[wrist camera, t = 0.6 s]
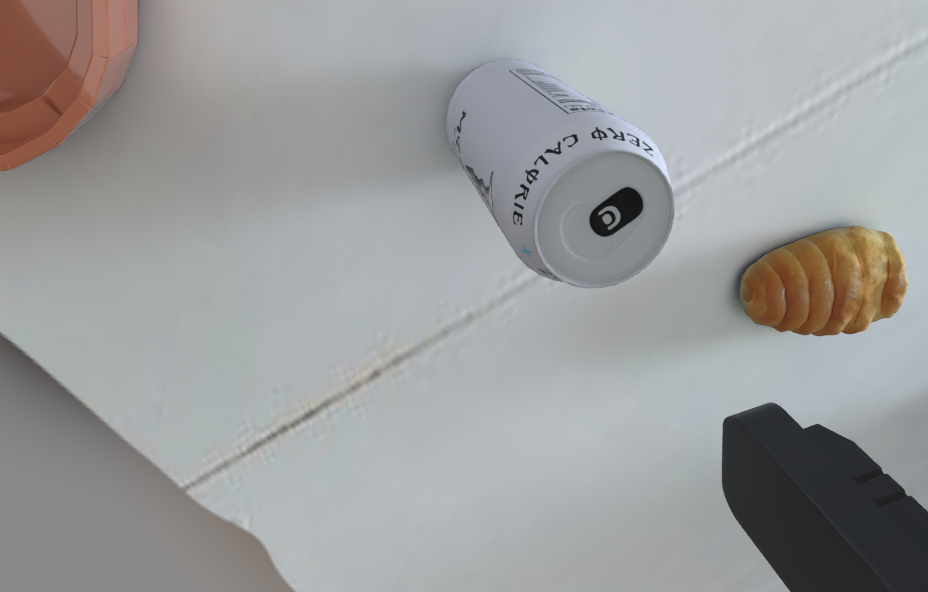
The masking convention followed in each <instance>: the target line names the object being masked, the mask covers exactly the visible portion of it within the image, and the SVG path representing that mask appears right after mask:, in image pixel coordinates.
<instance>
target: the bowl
mask: <svg viewBox="0 0 928 592" xmlns="http://www.w3.org/2000/svg"><path fill="white" fill-rule="evenodd" d="M137 40H138V0H0V171H4V170H11V169H13V168H16V167H18V166H20V165H22V164H24V163H26V162H28V161H30V160H32V159H34V158H36V157H38V156H40V155H41V154H43V153H45V152H47V151H49V150H51V149H53V148H55V147H57V146H58V145H60V144H61V143H62V142H63V141H65V140H66V139H67V138H68V137H69V136H71V135H72V134H73V133H74V132H76V131H77V130H78V129H79V128H80V127H82V126H83V125H84V124H85V123H87V122H88V121H89V120H90V119H91V118H93V117H94V116H95V115H96V114H97V112H98V111H99V110H100V109H101V108H102V107H103V106H104V105H105V103H106V102H107V101H108V100H109V99H110V98H111V97H112V95H113V94H114V93H115V92H116V91H117V90H118V89H119V88H120V86H121V84H122V83H123V80H124V78H125V75H126V72H127V70H128V67H129V64H130V61H131V59H132V56H133V53H134V50H135V48H136V45H137Z"/></svg>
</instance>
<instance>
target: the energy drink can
mask: <svg viewBox="0 0 928 592" xmlns="http://www.w3.org/2000/svg"><path fill="white" fill-rule="evenodd" d="M446 129H447V136H448V140H449V143H450V146H451V149H452V150H453V152H454V154H455V155H456V157H457V159H458V160H459V162H460V164H461V165H462V167H463V168H464V170H465V172H466V173H467V175H468V177H469V178H470V180H471V182H472V183H473V185H474V186H475V188H476V190H477V191H478V193H479V195H480V196H481V198H482V199H483V201H484V203H485V204H486V206H487V208H488V209H489V211H490V213H491V214H492V216H493V217H494V219H495V221H496V222H497V224H498V226H499V227H500V229H501V230H502V232H503V234H504V235H505V237H506V239H507V240H508V242H509V243H510V245H511V247H512V248H513V250H514V252H515V253H516V255H517V256H518V257H519V258H520V260H521V261H522V262H523V263H524V264H525V265H526V266H527V267H529V268H530V269H532V270H533V271H535V272H536V273H538V274H539V275H541V276H544V277H547V278H549V279H552V280H555V281H561V282H566V283H568V284H571V285H573V286H577V287H583V288H603V287H608V286H613V285H616V284H618V283H621V282H624V281H626V280H628V279H630V278H631V277H633V276H635V275H636V274H638V273H640V272H641V271H642V270H643V269H644V268H646V267H647V266H648V265H649V264H650V263H651V262H652V261H653V260H654V258H655V257H656V256H657V255H658V254H659V252H660V251H661V249H662V248H663V246H664V244H665V243H666V241H667V238H668V236H669V233H670V231H671V228H672V224H673V219H674V197H673V192H672V188H671V186H670V182H669V176H668V171H667V166H666V164H665V161H664V159H663V157H662V154H661V152H660V150H659V149H658V148H657V146H656V145H655V144H654V142H653V141H652V140H651V139H650V138H649V137H648V136H647V135H646V134H644V133H643V132H642V131H641V130H640V129H638V128H636V127H635V126H633V125H632V124H630V123H628V122H627V121H625V120H623V119H622V118H620V117H619V116H617V115H615V114H614V113H612V112H610V111H609V110H607V109H605V108H604V107H602V106H601V105H599V104H597V103H596V102H594V101H592V100H591V99H589V98H587V97H586V96H584V95H583V94H581V93H579V92H578V91H576V90H574V89H573V88H571V87H570V86H568V85H566V84H565V83H563V82H561V81H560V80H558V79H556V78H555V77H553V76H552V75H550V74H548V73H547V72H545V71H543V70H542V69H540V68H538V67H536V66H534V65H532V64H531V63H529V62H525V61H521V60H516V59H503V60H497V61H492V62H490V63H487V64H485V65H482V66H480V67H479V68H477V69H476V70H474V71H473V72H471V73H470V74H469V75H468V76H467V77H466V78H465V79H464V80H463V81H462V82H461V83H460V85H459V86H458V88H457V89H456V90H455V92H454V94H453V96H452V99H451V101H450V103H449V107H448V111H447V119H446Z"/></svg>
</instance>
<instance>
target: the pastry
mask: <svg viewBox="0 0 928 592" xmlns="http://www.w3.org/2000/svg"><path fill="white" fill-rule="evenodd" d="M905 271H906V264H905V260H904V257H903V255H902V252H901V251H900V249H899V248H898V246H897V244H896V242H895V240H894V238H893V237H892V236H891V235H890V234H888V233H886V232H882V231H878V230H873V229H867V228H864V227H851V226H850V227H843V228H832V229H829V230H826V231H823V232H821V233H816V234H814V235H812V236H808V237H805V238H802V239H798V240H796V241H795V242H793V243H790V244H785V246H782V247H779V248H777V249H774V250H772V251H771V252H769V253H767V254H765V255H764V256H763V257H761V258H760V259H759V260H758V261H756V262H755V263H754V264H752V265H750V266H749V267H748V268H747V269H746V271H745V273H744V275H743V276H742V280H741V287H740V299H741V301H742V304H743V307H744V310H745V312H746V314H747V315H748V316H749V317H750V318H751V319H752V320H753V322H754V323H755V324H759V325H765V326H770V327H773V328H775V329H776V330H778V331H780V332H783V331H792V332H794V333H797V334H802V335H809V334H813V335H815V336H824V335H837V334H839V333H840V332H843V333H845V334H854V333H857V332H861V331H864V330H866V329H867V328H868V326H869V325H870V323H871V322H875V321H877V320H880V319H883V318H890V317H892V316H893V315H894V314H895V313H896V312H897V311H898V310H899V308H900V306H901V305H902V303H903V299H904V296H905V293H906V290H907V285H908V283H907V278H906V273H905Z"/></svg>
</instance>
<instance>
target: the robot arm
mask: <svg viewBox="0 0 928 592" xmlns="http://www.w3.org/2000/svg"><path fill="white" fill-rule="evenodd" d="M722 486H723V491H724V494H725V498H726V500H727V503H728V505H729V507H730V509H731V511H732V513H733V515H734V516H735V518H736V520H737V521H738V522H739V524H740V525H741V527H742V528H743V529H744V531H745V532H746V533H747V535H748V536H749V537H750V539H751V540H752V541H753V543H754V544H755V545H756V546H757V548H758V549H759V550H760V552H761V553H762V554H763V556H764V557H765V558H766V560H767V561H768V562H769V564H770V565H771V566H772V568H773V569H774V570H775V572H776V573H777V574H778V576H779V577H780V578H781V580H782V581H783V582H784V584H785V585H786V586H787V588H788V589H789V590H790V592H928V512H927V511H926V510H925V509H924V508H923V507H922V506H921V505H920V504H919V503H918V502H917V501H916V500H915V499H914V498H913V497H911V496H907V495H906V493H905V490H904V489H903V488H902V487H901V486H900V485H899V484H898V483H897V482H896V481H895V480H893V479H892V478H891V477H890V476H889V475H888V474H884V473H883V472H882V468H881V467H880V466H879V465H878V464H877V463H875V462H874V461H873V460H872V459H871V458H870V457H869V456H868V455H867V454H866V453H865V452H864V451H863V450H862V449H861V448H860V447H858V446H857V445H856V444H855V443H854V442H853V441H851V440H849V439H847V438H845V437H843V436H841V435H839V434H837V433H835V432H833V431H831V430H829V429H827V428H825V427H823V426H821V425H819V424H816V425H813V426H810V427H807V428H804V429H803V428H802V427H801V426H800V425H799V424H798V423H797V422H796V421H795V420H794V419H793V418H792V417H791V416H790V415H789V414H788V413H787V412H786V411H785V410H784V409H783V408H782V407H780V406H779V405H777V404H775V403H767V404H764V405H761V406H758V407H755V408H752V409H749V410H746V411H743V412H740V413H738V414H735V415H732V416H729V417H727V418H725V420H724V422H723V441H722Z"/></svg>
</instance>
